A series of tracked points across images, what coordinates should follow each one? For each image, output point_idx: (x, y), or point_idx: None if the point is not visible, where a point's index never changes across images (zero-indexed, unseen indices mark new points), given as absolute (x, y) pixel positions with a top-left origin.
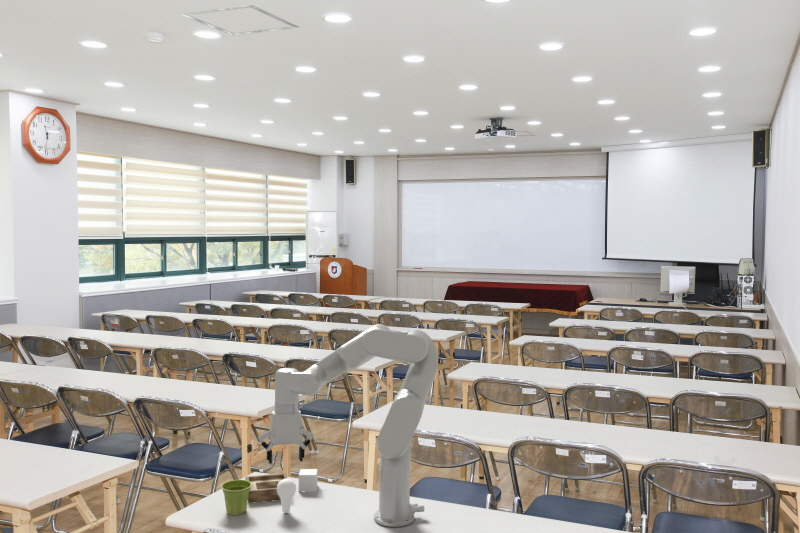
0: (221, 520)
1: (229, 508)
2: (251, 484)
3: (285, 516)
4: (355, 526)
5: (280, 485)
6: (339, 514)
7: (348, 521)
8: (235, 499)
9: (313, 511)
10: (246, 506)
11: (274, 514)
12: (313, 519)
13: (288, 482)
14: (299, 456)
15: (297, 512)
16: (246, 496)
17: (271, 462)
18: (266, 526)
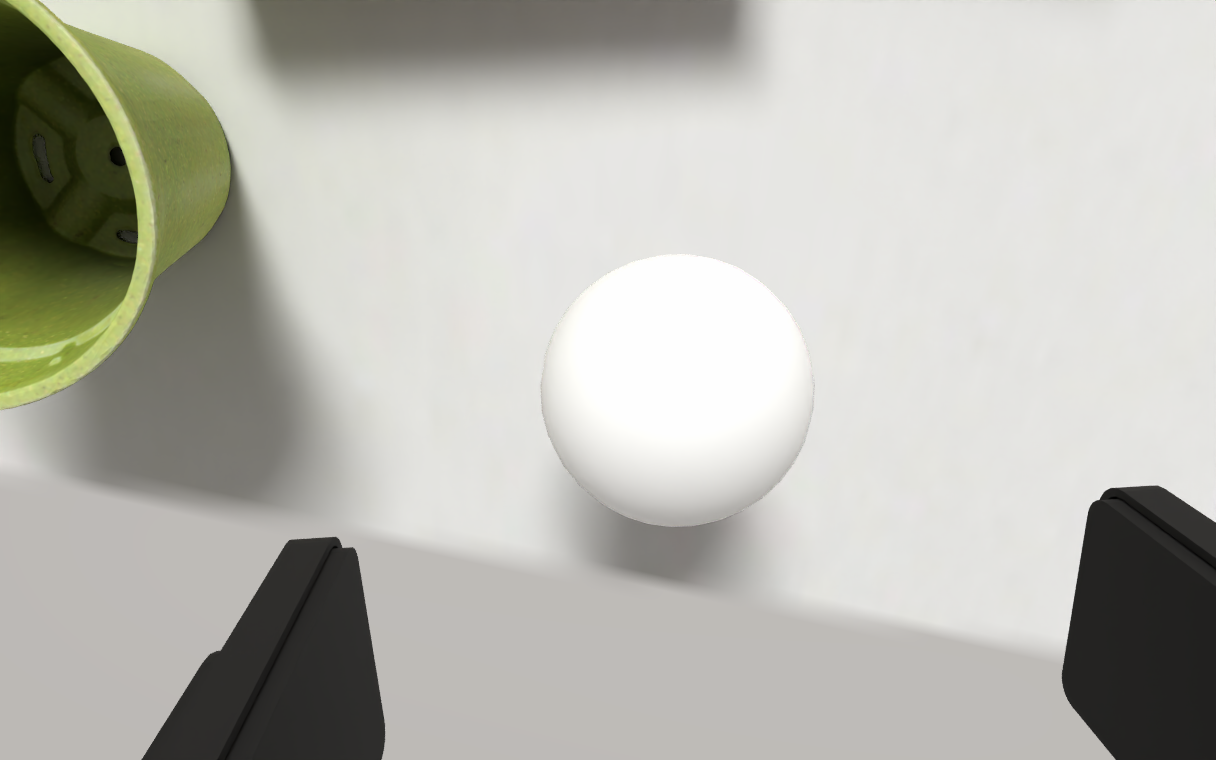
0: None
1: (23, 257)
2: (149, 215)
3: None
4: None
5: (590, 485)
6: (1126, 430)
7: None
8: (29, 331)
9: (915, 316)
10: (214, 198)
11: (531, 311)
12: (873, 488)
13: (711, 504)
14: (1128, 630)
15: None
16: (157, 269)
17: (374, 756)
18: (453, 547)
